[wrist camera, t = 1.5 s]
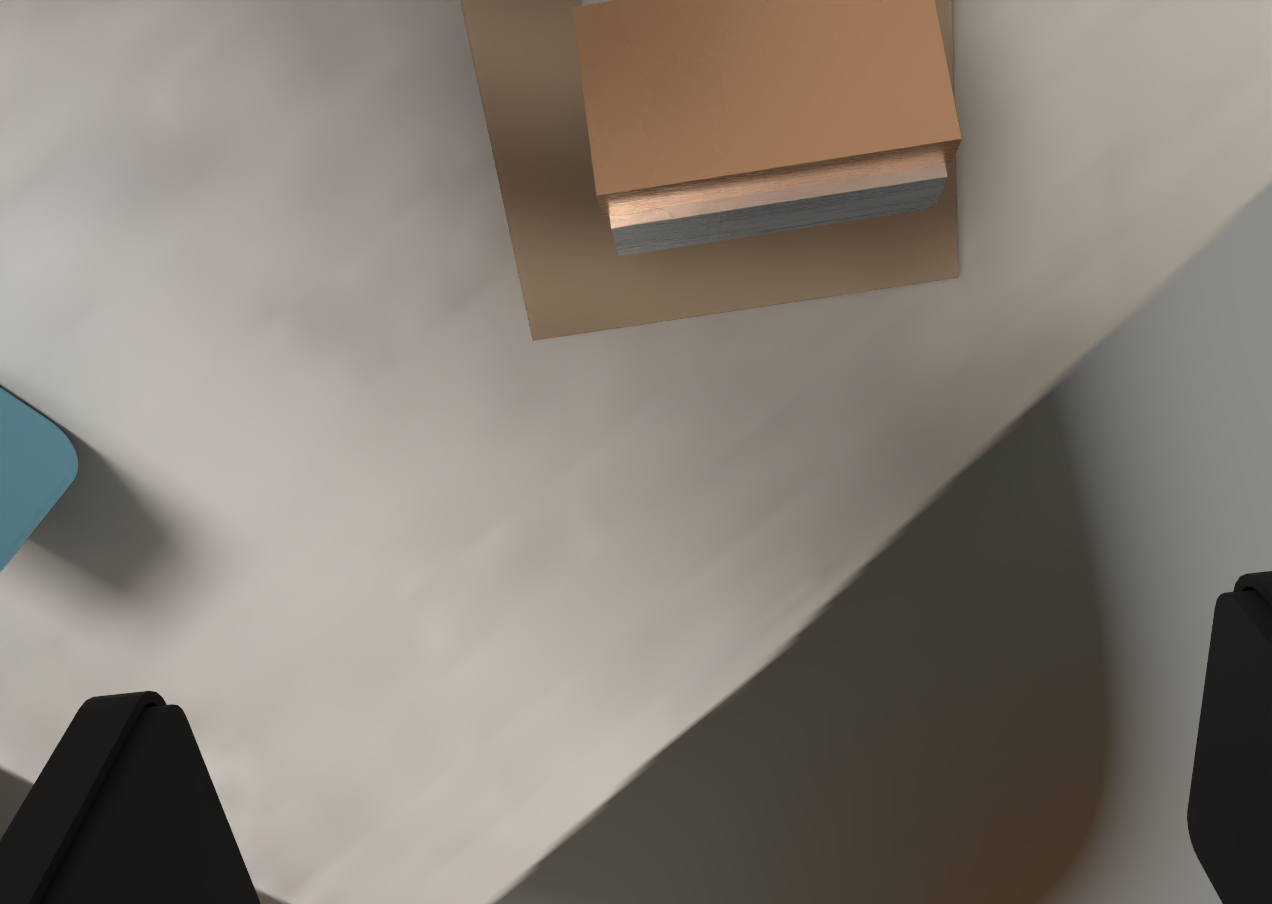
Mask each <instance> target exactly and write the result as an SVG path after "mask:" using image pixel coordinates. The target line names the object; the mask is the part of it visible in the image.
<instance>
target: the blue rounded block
mask: <svg viewBox="0 0 1272 904" xmlns="http://www.w3.org/2000/svg"><path fill="white" fill-rule="evenodd" d="M77 472H78V458H77V454H76V451H75V449H74V447H73V445H72V443H71V442H70V440H69V439H68V437H67V436H66V435H65V434H64V433H63V432H62V431H61V430H60V429H59V428H58V427H57V426H56V425H55V424H53V423H52V422H51V421H49V420H48V419H46V418H45V417H43V416H42V415H41V414H39V413H38V412H36V411H35V410H33V409H32V408H30V407H29V406H27V405H26V404H24V403H23V402H21V401H20V400H18V399H17V398H15V397H14V396H12V395H11V394H9V393H8V392H6V391H5V390H3V389H2V388H0V572H1V571H2V570H3V569H4V567H5V566H6V565H7V564H8V562H9V561H10V560H11V559H12V557H13V556H14V555H15V554H16V552H17V551H18V550H19V548H20V547H21V546H22V545H23V543H24V542H25V541H26V540H27V538H28V537H29V536H30V535H31V533H32V532H33V531H34V530H35V528H36V527H37V526H38V525H39V523H40V522H41V521H42V520H43V518H44V517H45V516H46V515H47V513H48V512H49V511H50V510H51V508H52V507H53V506H54V505H55V503H56V502H57V501H58V499H59V498H60V497H61V496H62V494H63V493H64V492H65V491H66V489H67V488H68V487H69V486H70V484H71V483H72V482H73V480H74V479H75V477H76V475H77Z"/></svg>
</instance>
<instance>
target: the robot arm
mask: <svg viewBox="0 0 1272 904" xmlns="http://www.w3.org/2000/svg"><path fill="white" fill-rule="evenodd" d="M1187 821H1188V830H1189V834H1190V839H1191V842H1192V845H1193V848H1194V851H1195V853H1196V855H1197V857H1198V859H1199V861H1200V863H1201V865H1202V866H1203V868H1204V870H1205V872H1206V874H1207V876H1208V878H1209V879H1210V881H1211V883H1212V885H1213V887H1214V888H1215V890H1216V892H1217V894H1218V896H1219V898H1220V899H1221V901H1222V903H1223V904H1272V571H1269V572H1260V573H1250V574H1245V575H1243V576H1241V577H1240V578H1239V579H1238V581H1237V582H1236V584H1235V587H1234V591H1233V592H1229V593H1223V594H1221V595H1220V596H1219V597H1218V599H1217V602H1216V606H1215V611H1214V618H1213V626H1212V634H1211V641H1210V648H1209V656H1208V663H1207V670H1206V678H1205V685H1204V693H1203V700H1202V708H1201V715H1200V722H1199V729H1198V737H1197V744H1196V752H1195V759H1194V767H1193V774H1192V781H1191V789H1190V796H1189V803H1188V811H1187ZM0 904H260V901H259V898H258V896H257V893H256V891H255V888H254V886H253V883H252V881H251V878H250V876H249V873H248V871H247V868H246V866H245V863H244V861H243V858H242V856H241V853H240V851H239V848H238V846H237V843H236V841H235V838H234V836H233V833H232V830H231V828H230V825H229V823H228V820H227V818H226V815H225V813H224V810H223V808H222V805H221V803H220V800H219V798H218V795H217V793H216V790H215V788H214V785H213V783H212V780H211V778H210V775H209V773H208V770H207V768H206V765H205V763H204V760H203V758H202V755H201V753H200V750H199V747H198V745H197V742H196V740H195V737H194V735H193V732H192V730H191V727H190V725H189V722H188V720H187V717H186V715H185V713H184V711H183V710H182V709H181V708H180V707H179V706H178V705H166V703H165V701H164V699H163V698H162V697H161V696H160V695H159V694H158V693H157V692H153V691H145V692H135V693H126V694H116V695H107V696H98V697H92V698H90V699H88V700H86V701H85V702H84V704H83V705H82V706H81V707H80V708H79V710H78V712H77V713H76V715H75V717H74V718H73V720H72V722H71V723H70V725H69V727H68V728H67V730H66V732H65V733H64V735H63V737H62V738H61V740H60V742H59V743H58V745H57V747H56V748H55V750H54V752H53V753H52V755H51V757H50V759H49V760H48V762H47V764H46V765H45V767H44V769H43V770H42V772H41V774H40V775H39V777H38V779H37V780H36V782H35V784H34V785H33V787H32V789H31V790H30V792H29V794H28V795H27V797H26V799H25V800H24V802H23V804H22V805H21V807H20V809H19V810H18V812H17V814H16V815H15V817H14V819H13V820H12V822H11V824H10V826H9V827H8V829H7V830H6V832H5V834H4V835H3V837H2V839H1V841H0Z"/></svg>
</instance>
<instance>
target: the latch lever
mask: <svg viewBox="0 0 1272 904" xmlns="http://www.w3.org/2000/svg"><path fill="white" fill-rule="evenodd" d="M581 2H582V6H577V7H572V9H573V17H574V25H575V33H576V40H577V48H578V56H579V64H580V71H581V79H582V87H583V95H584V102H585V110H586V118H587V126H588V133H589V141H590V149H591V157H592V164H593V172H594V180H595V188H596V195H597V199H598V202H599V206H600V209H601V212H602V216H603V217H606V216H610V224H611V230H612V233H613V237H614V240H615V244H616V247H617V251H618V254H619V256H626V255H632V254H639V253H645V252H652V251H658V250H665V249H671V248H678V247H685V246H691V245H698V244H704V243H711V242H717V241H724V240H730V239H737V238H744V237H750V236H757V235H763V234H770V233H776V232H783V231H789V230H796V229H803V228H809V227H816V226H822V225H829V224H835V223H842V222H848V221H855V220H862V219H868V218H875V217H881V216H888V215H894V214H901V213H907V212H914V211H920V210H927V209H934V208H935V206H936V203H937V201H938V198H939V196H940V193H941V191H942V189H943V186H944V184H945V181H946V179H947V172H946V166H945V164H948V163H952V161H953V159H954V156H955V154H956V152H957V149H958V147H959V144H960V142H961V139H962V137H961V132H960V127H959V122H958V117H957V112H956V107H955V102H954V97H953V91H952V86H951V81H950V76H949V71H948V66H947V61H946V56H945V51H944V46H943V41H942V35H941V30H940V25H939V20H938V15H937V10H936V5H935V0H581Z"/></svg>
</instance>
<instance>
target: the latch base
mask: <svg viewBox="0 0 1272 904" xmlns="http://www.w3.org/2000/svg"><path fill="white" fill-rule="evenodd" d="M461 5H462V10H463V14H464V19H465V24H466V28H467V33H468V38H469V42H470V47H471V52H472V57H473V61H474V66H475V71H476V75H477V80H478V85H479V89H480V94H481V99H482V103H483V108H484V113H485V118H486V122H487V127H488V132H489V136H490V141H491V146H492V150H493V155H494V160H495V165H496V169H497V174H498V179H499V183H500V188H501V193H502V197H503V202H504V207H505V211H506V216H507V221H508V226H509V230H510V235H511V240H512V244H513V249H514V254H515V258H516V263H517V268H518V273H519V277H520V282H521V287H522V291H523V296H524V301H525V305H526V310H527V315H528V319H529V324H530V329H531V334H532V338H533V341H534V340H541V339H547V338H554V337H561V336H568V335H574V334H581V333H588V332H594V331H601V330H608V329H615V328H621V327H628V326H635V325H641V324H648V323H655V322H662V321H668V320H675V319H682V318H688V317H695V316H702V315H709V314H715V313H722V312H729V311H735V310H742V309H749V308H756V307H762V306H769V305H776V304H782V303H789V302H796V301H803V300H809V299H816V298H823V297H829V296H836V295H843V294H850V293H856V292H863V291H870V290H876V289H883V288H890V287H897V286H903V285H910V284H917V283H923V282H930V281H937V280H944V279H950V278H957V277H958V236H957V195H956V154H955V156H954V159H953V161H952V163H948V164H945V166H946V172H947V179H946V181H945V184H944V186H943V189H942V191H941V193H940V196H939V198H938V201H937V203H936V206H935V208H934V209H927V210H920V211H914V212H907V213H901V214H894V215H888V216H881V217H875V218H868V219H862V220H855V221H848V222H842V223H835V224H829V225H822V226H816V227H809V228H803V229H796V230H789V231H783V232H776V233H770V234H763V235H757V236H750V237H744V238H737V239H730V240H724V241H717V242H711V243H704V244H698V245H691V246H685V247H678V248H671V249H665V250H658V251H652V252H645V253H639V254H632V255H626V256H619V254H618V251H617V247H616V244H615V240H614V237H613V233H612V230H611V224H610V216H606V217H603V216H602V212H601V209H600V206H599V202H598V199H597V195H596V188H595V180H594V172H593V164H592V157H591V149H590V141H589V133H588V126H587V118H586V110H585V102H584V95H583V87H582V79H581V71H580V64H579V56H578V48H577V40H576V33H575V25H574V17H573V9H572V7H577V6H582V2H581V0H461ZM935 5H936V10H937V15H938V20H939V25H940V30H941V35H942V41H943V46H944V51H945V56H946V61H947V66H948V71H949V76H950V81H951V86H952V91H953V97H954V70H953V28H952V0H935Z"/></svg>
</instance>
